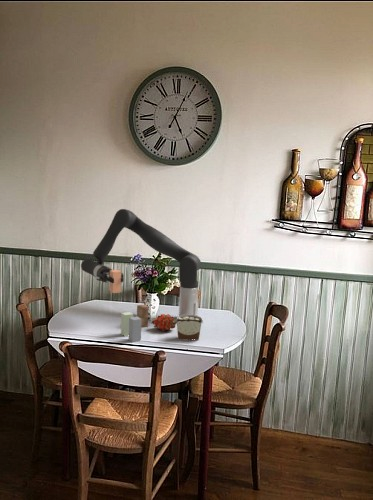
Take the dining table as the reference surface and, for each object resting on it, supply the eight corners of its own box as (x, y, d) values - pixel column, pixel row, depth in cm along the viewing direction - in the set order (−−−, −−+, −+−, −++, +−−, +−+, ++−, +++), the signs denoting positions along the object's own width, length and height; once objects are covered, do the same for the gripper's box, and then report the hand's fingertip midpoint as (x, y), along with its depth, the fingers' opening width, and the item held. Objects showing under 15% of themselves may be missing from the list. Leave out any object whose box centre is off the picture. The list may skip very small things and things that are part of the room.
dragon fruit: (178, 334, 218) (152, 336, 219) (177, 320, 224) (153, 322, 225) (175, 324, 212) (149, 326, 213) (175, 309, 218) (150, 311, 219)
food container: (201, 335, 214) (202, 314, 212) (202, 340, 208) (203, 318, 206) (174, 334, 213) (175, 313, 212) (174, 339, 207) (175, 317, 206)
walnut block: (143, 324, 226) (144, 304, 225) (147, 326, 223) (148, 306, 221) (136, 325, 224) (137, 305, 223) (140, 327, 221) (141, 307, 219)
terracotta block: (117, 290, 222) (117, 269, 220) (120, 292, 219) (121, 271, 217) (109, 291, 220) (109, 270, 218) (112, 293, 216) (113, 272, 215)
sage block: (128, 332, 213) (129, 311, 212) (132, 335, 210) (133, 314, 208) (120, 334, 211) (121, 312, 209) (124, 336, 208) (125, 315, 206)
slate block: (136, 338, 207) (137, 316, 205) (140, 340, 203) (141, 319, 202) (128, 339, 204) (129, 317, 203) (132, 342, 201) (133, 320, 200)
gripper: (89, 266, 226) (103, 273, 211) (116, 265, 233) (131, 271, 219) (89, 281, 227) (103, 289, 213) (116, 279, 234) (131, 287, 220)
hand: (117, 280), depth 216 cm, fingers closed on terracotta block, 4 cm apart
